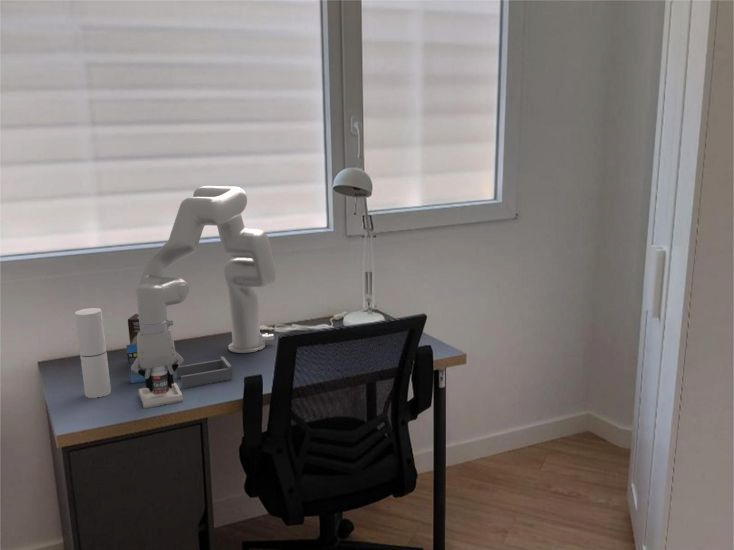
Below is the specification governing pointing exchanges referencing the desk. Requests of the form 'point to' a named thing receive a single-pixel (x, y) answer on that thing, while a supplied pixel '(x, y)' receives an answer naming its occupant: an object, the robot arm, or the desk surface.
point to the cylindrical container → (93, 352)
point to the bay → (204, 372)
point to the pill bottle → (159, 380)
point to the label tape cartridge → (132, 357)
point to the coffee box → (133, 328)
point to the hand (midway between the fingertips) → (160, 387)
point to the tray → (160, 397)
